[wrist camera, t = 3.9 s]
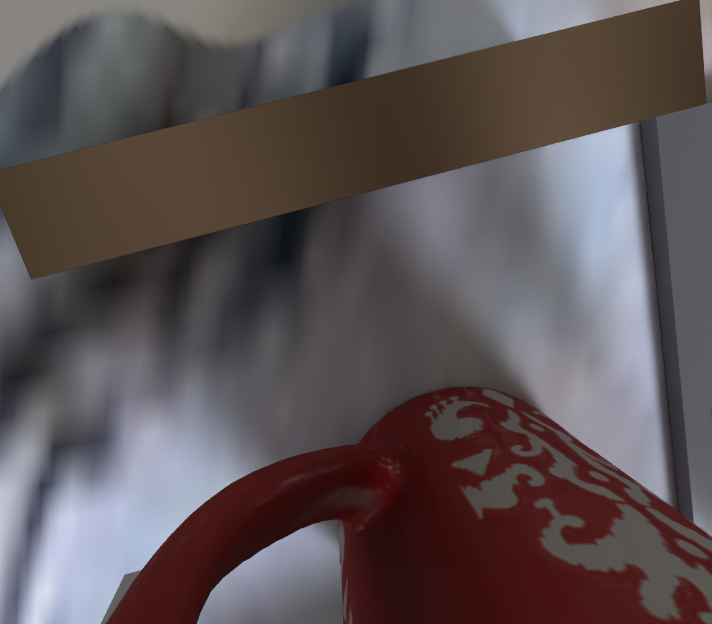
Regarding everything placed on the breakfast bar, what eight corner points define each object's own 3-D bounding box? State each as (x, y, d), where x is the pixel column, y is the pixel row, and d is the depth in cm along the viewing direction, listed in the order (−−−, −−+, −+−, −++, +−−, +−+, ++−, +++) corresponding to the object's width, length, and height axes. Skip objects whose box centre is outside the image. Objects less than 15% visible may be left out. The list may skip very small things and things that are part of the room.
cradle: (322, 752, 16) (330, 985, 11) (118, 187, 12) (-14, 172, 7) (625, 657, 17) (756, 841, 12) (542, 79, 12) (698, -5, 7)
